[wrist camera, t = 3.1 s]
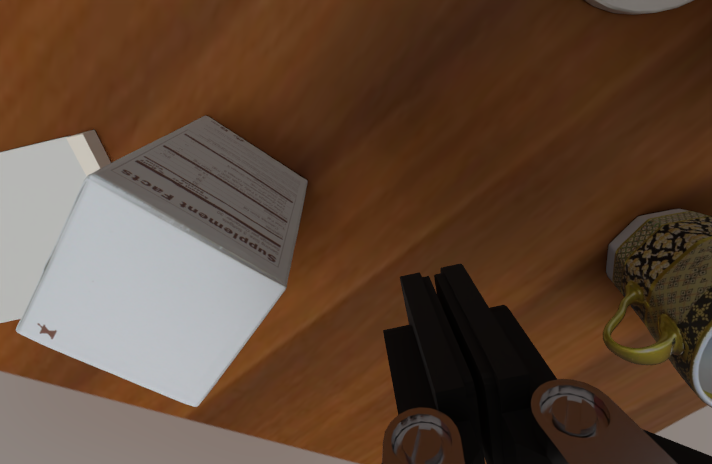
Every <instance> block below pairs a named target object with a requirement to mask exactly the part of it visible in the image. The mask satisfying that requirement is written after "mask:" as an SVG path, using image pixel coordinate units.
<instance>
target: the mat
mask: <svg viewBox="0 0 712 464" xmlns="http://www.w3.org/2000/svg"><path fill="white" fill-rule="evenodd" d="M70 136H71V135H70ZM70 136H66V137H62V138H58V139H54V140H49V141H45V142H41V143H37V144H33V145H29V146H24V147H20V148H16V149H12V150H8V151H3V152H0V323H2V322H7V321H12V320H17V319H21V318H22V316H23V314H24V312H25V309H26V307H27V305H28V303H29V301H30V298H31V296H32V294H33V292H34V290H35V287H36V285H37V283H38V281H39V279H40V276H41V274H42V271H43V268H44V265H45V263H46V261H47V259H48V257H49V255H50V254H51V252H52V250H53V248H54V246H55V243H56V241H57V239H58V237H59V234H60V232H61V230H62V228H63V226H64V223H65V221H66V219H67V217H68V215H69V212H70V210H71V208H72V206H73V203H74V201H75V198H76V196H77V194H78V192H79V190H80V188H81V185H82V183H83V181H84V180H85V178H86V177H87V176H86V174H85V173H84V171H83V169H82V167H81V165H80V163H79V161H78V160H77V158H76V156H75V154H74V152H73V150H72V148H71V146H70V145H69V143H68V141H67V139H66V138H67V137H70Z"/></svg>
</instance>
